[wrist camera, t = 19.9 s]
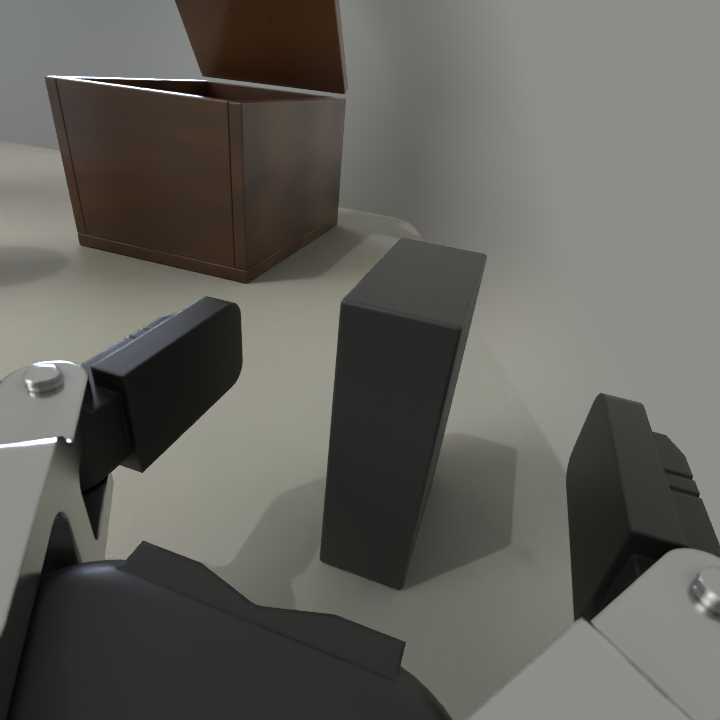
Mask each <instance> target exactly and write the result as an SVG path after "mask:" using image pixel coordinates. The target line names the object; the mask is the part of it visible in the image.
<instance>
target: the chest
mask: <svg viewBox="0 0 720 720" xmlns="http://www.w3.org/2000/svg"><path fill="white" fill-rule="evenodd" d="M45 81H46V86H47V90H48V95H49V100H50V104H51V109H52V114H53V119H54V123H55V128H56V133H57V138H58V142H59V147H60V152H61V157H62V161H63V166H64V171H65V175H66V180H67V185H68V190H69V194H70V199H71V204H72V208H73V213H74V218H75V223H76V227H77V232H78V238H79V243H80V245H84V246H89V247H93V248H97V249H102V250H106V251H110V252H114V253H119V254H123V255H127V256H132V257H136V258H140V259H145V260H149V261H153V262H158V263H162V264H166V265H170V266H175V267H179V268H183V269H188V270H192V271H196V272H201V273H205V274H209V275H214V276H218V277H222V278H226V279H231V280H235V281H239V282H244V283H248V282H249V281H251V280H252V279H254V278H255V277H257V276H258V275H260V274H261V273H263V272H265V271H266V270H268V269H269V268H271V267H272V266H274V265H275V264H277V263H278V262H280V261H281V260H283V259H284V258H286V257H288V256H289V255H291V254H292V253H294V252H295V251H297V250H298V249H300V248H301V247H303V246H304V245H306V244H307V243H309V242H311V241H312V240H314V239H315V238H317V237H318V236H320V235H321V234H323V233H324V232H326V231H327V230H329V229H330V228H332V227H334V226H335V225H337V219H338V203H339V189H340V174H341V161H342V147H343V131H344V118H345V104H346V99H345V98H339V97H332V96H323V95H316V94H308V93H299V92H293V91H284V90H277V89H269V88H261V87H254V86H246V85H237V84H230V83H222V82H214V81H206V80H175V79H137V78H102V77H101V78H100V77H66V76H45Z"/></svg>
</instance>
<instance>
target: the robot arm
mask: <svg viewBox="0 0 720 720" xmlns="http://www.w3.org/2000/svg"><path fill="white" fill-rule="evenodd" d="M242 362H243V358H242V331H241V312H240V308H239V306H238V305H237V304H236V303H232V302H228V301H224V300H220V299H216V298H212V297H207V296H206V297H202V298H201V299H199V300H197V301H196V302H194V303H192V304H191V305H189V306H188V307H186V308H184V309H183V310H181V311H179V312H176V313H173V314H169V315H166V316H163V317H160V318H158V319H156V320H155V321H153V322H151V323H149V324H148V325H146V326H144V327H143V330H140V329H139V330H138V331H136V332H134V333H133V334H131V335H129V338H124V339H123V340H121V341H119V342H118V343H116V344H114V345H113V346H111V347H109V348H108V349H106V350H104V351H103V352H101V353H99V354H98V355H96V356H94V357H93V358H91V359H89V360H87V361H86V362H84V363H82V364H81V365H79V364H77V363H74V362H69V361H48V362H41V363H36V364H32V365H29V366H26V367H23V368H21V369H18V370H16V371H14V372H13V373H11V374H9V375H8V376H6V377H5V378H4V379H3V380H2V381H0V720H452V718H451V717H450V715H449V714H448V713H447V711H446V710H445V708H444V707H443V706H442V705H441V704H440V702H439V701H438V700H437V699H436V698H435V697H434V695H433V694H432V693H431V692H430V691H429V690H428V689H427V688H426V687H425V686H424V685H423V684H422V683H421V682H420V681H419V680H418V679H416V678H415V677H414V676H413V675H412V674H410V673H409V672H408V671H406V670H405V669H404V668H402V667H401V666H400V664H401V660H402V656H403V652H404V648H405V644H406V642H404V641H401V640H399V639H396V638H393V637H391V636H388V635H386V634H383V633H381V632H378V631H375V630H373V629H370V628H368V627H365V626H362V625H360V624H357V623H355V622H352V621H350V620H347V619H344V618H342V617H339V616H337V615H333V614H324V613H315V612H307V611H298V610H289V609H280V608H272V607H263V606H259V605H256V604H254V603H252V602H251V601H249V600H248V599H247V598H245V597H244V596H243V595H242V594H240V593H239V592H238V591H236V590H235V589H234V588H233V587H231V586H230V585H229V584H227V583H226V582H225V581H224V580H222V579H221V578H220V577H218V576H217V575H216V574H215V573H213V572H212V571H211V570H209V569H208V568H207V567H206V566H204V565H203V564H202V563H200V562H197V561H194V560H192V559H189V558H187V557H184V556H182V555H179V554H176V553H174V552H171V551H169V550H166V549H163V548H161V547H158V546H156V545H153V544H151V543H148V542H145V541H142V543H141V544H140V545H139V546H138V547H137V548H136V549H135V551H134V552H133V553H132V554H131V555H130V556H129V557H128V558H127V560H105V550H106V541H107V533H108V525H109V517H110V508H111V500H112V492H113V477H112V473H111V472H112V471H113V470H114V469H115V468H116V467H118V466H119V465H121V466H124V467H127V468H130V469H133V470H136V471H139V472H141V473H143V472H144V471H145V470H146V469H147V468H148V467H149V466H150V465H151V464H152V463H153V462H154V461H155V460H156V459H157V458H158V457H159V456H160V455H161V454H163V453H164V452H165V451H166V450H167V449H168V448H169V447H170V446H171V445H172V444H173V443H174V442H175V441H176V440H177V439H178V438H179V437H180V436H181V435H182V434H183V433H184V432H185V431H186V430H188V429H189V428H190V427H191V426H192V425H193V424H194V423H195V422H196V421H197V420H198V419H199V418H200V417H201V416H202V415H203V414H204V413H205V412H206V411H207V410H208V409H209V408H210V407H211V406H213V405H214V404H215V403H216V402H217V401H218V400H219V399H220V398H221V397H222V396H223V395H224V394H225V393H226V392H227V391H228V390H229V389H230V388H231V387H232V386H233V385H234V384H235V383H236V381H237V380H238V378H239V375H240V373H241V369H242ZM692 478H693V475H692V473H691V470H690V468H689V465H688V463H687V460H686V457H685V456H684V454H683V453H682V452H681V451H680V450H679V449H678V448H677V447H676V446H675V444H674V443H673V442H672V441H671V440H670V439H669V438H668V437H667V436H666V435H663V434H659V433H655V432H652V430H651V427H650V424H649V421H648V418H647V415H646V411H645V408H644V406H643V404H641V403H640V402H635V401H631V400H627V399H623V398H619V397H615V396H611V395H606V394H603V393H600V394H599V395H598V396H597V397H596V399H595V400H594V402H593V404H592V407H591V409H590V412H589V414H588V416H587V418H586V421H585V423H584V426H583V428H582V430H581V432H580V435H579V437H578V439H577V441H576V444H575V446H574V448H573V451H572V453H571V456H570V459H569V463H568V468H567V475H566V489H567V505H568V522H569V538H570V555H571V571H572V588H573V604H574V621H575V622H573V623H572V624H571V625H570V626H569V627H567V628H566V629H565V630H564V631H563V632H562V633H561V634H559V635H558V636H557V637H556V638H555V639H554V640H553V641H551V642H550V643H549V644H548V645H547V646H546V647H544V648H543V649H542V650H541V651H540V652H539V653H538V654H536V655H535V656H534V657H533V658H532V659H531V660H530V661H528V662H527V663H526V664H525V665H524V666H523V667H522V668H520V669H519V670H518V671H517V672H516V673H515V674H513V675H512V676H511V677H510V678H509V679H508V680H507V681H505V682H504V683H503V684H502V685H501V686H500V687H499V688H497V689H496V690H495V691H494V692H493V693H492V694H490V695H489V696H488V697H487V698H486V699H485V700H484V701H482V702H481V703H480V704H479V705H478V706H477V707H476V708H474V709H473V710H472V711H471V712H470V713H469V714H468V715H466V716H465V717H464V718H463V719H462V720H720V545H719V542H718V540H717V537H716V535H715V532H714V529H713V527H712V524H711V522H710V520H709V517H708V514H707V512H706V509H705V506H704V504H703V501H702V499H700V498H699V495H700V493H699V491H698V489H697V486H696V483H695V481H693V480H692Z"/></svg>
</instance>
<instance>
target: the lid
mask: <svg viewBox="0 0 720 720" xmlns="http://www.w3.org/2000/svg"><path fill="white" fill-rule="evenodd" d="M175 2H176V5H177V8H178V10H179V13H180V16H181V18H182V21H183V24H184V27H185V29H186V32H187V35H188V38H189V40H190V43H191V46H192V49H193V51H194V54H195V57H196V60H197V62H198V65H199V68H200V71H201V73H202V75H203V76H205V77H212V78H221V79H228V80H237V81H245V82H252V83H261V84H269V85H276V86H284V87H292V88H300V89H308V90H317V91H324V92H332V93H340V94H345V93H346V91H347V89H348V83H347V74H346V64H345V55H344V45H343V37H342V36H343V35H342V26H341V16H340V7H339V0H175Z"/></svg>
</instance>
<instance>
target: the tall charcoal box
mask: <svg viewBox="0 0 720 720" xmlns="http://www.w3.org/2000/svg"><path fill="white" fill-rule="evenodd" d="M486 259H487V256H486V255H485V254H482V253H477V252H472V251H466V250H461V249H456V248H451V247H445V246H440V245H435V244H430V243H425V242H420V241H414V240H409V239H404V238H402V239H400V240H399V241H398V242H397V243H396V244H395V245H394V246H393V247H392V248H391V249H390V251H389V252H388V253H387V254H386V255H385V256H384V257H383V258H382V259H381V260H380V261H379V262H378V263H377V264H376V265H375V266H374V267H373V268H372V269H371V270H370V271H369V272H368V273H367V275H366V276H365V277H364V278H363V279H362V280H361V281H360V282H359V283H358V284H357V285H356V286H355V287H354V288H353V289H352V290H351V291H350V292H349V293H348V294H347V295H346V296H345V297H344V298H343V300H342V301H341V307H340V319H339V331H338V344H337V356H336V368H335V380H334V392H333V404H332V416H331V428H330V441H329V453H328V465H327V477H326V489H325V501H324V513H323V525H322V538H321V550H320V560H321V561H322V562H325V563H328V564H330V565H333V566H336V567H339V568H341V569H344V570H347V571H350V572H352V573H355V574H358V575H361V576H363V577H366V578H369V579H372V580H374V581H377V582H380V583H383V584H385V585H388V586H391V587H394V588H396V589H401V588H402V587H403V583H404V579H405V576H406V572H407V569H408V565H409V562H410V558H411V555H412V551H413V548H414V544H415V541H416V537H417V534H418V530H419V527H420V523H421V519H422V516H423V512H424V509H425V505H426V502H427V498H428V495H429V491H430V488H431V484H432V481H433V477H434V474H435V470H436V465H437V461H438V457H439V453H440V449H441V445H442V441H443V437H444V432H445V428H446V424H447V420H448V416H449V412H450V408H451V404H452V399H453V395H454V391H455V387H456V383H457V379H458V375H459V371H460V366H461V362H462V358H463V354H464V350H465V346H466V342H467V338H468V333H469V329H470V325H471V321H472V317H473V313H474V309H475V304H476V300H477V296H478V292H479V288H480V284H481V279H482V276H483V271H484V267H485V263H486Z"/></svg>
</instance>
